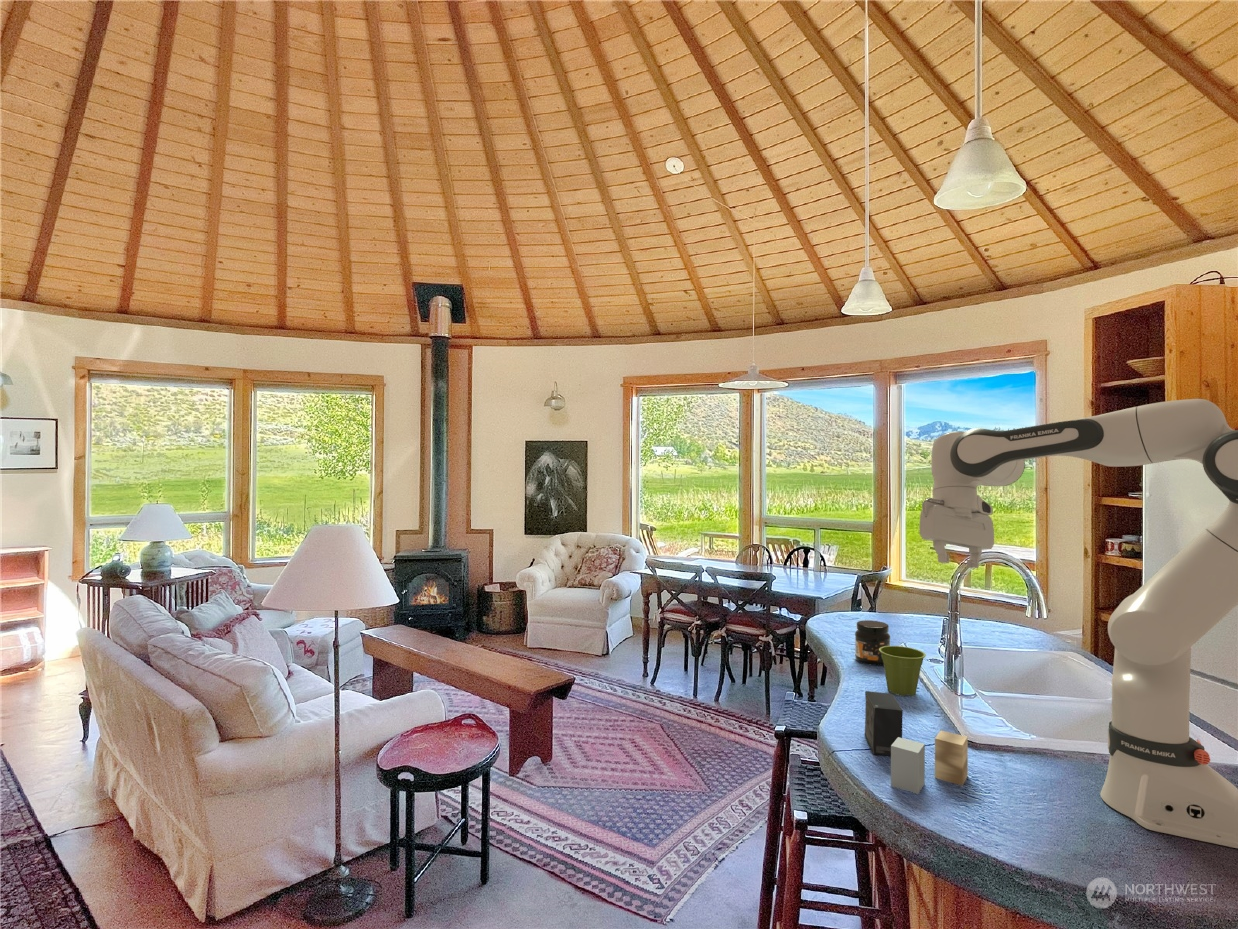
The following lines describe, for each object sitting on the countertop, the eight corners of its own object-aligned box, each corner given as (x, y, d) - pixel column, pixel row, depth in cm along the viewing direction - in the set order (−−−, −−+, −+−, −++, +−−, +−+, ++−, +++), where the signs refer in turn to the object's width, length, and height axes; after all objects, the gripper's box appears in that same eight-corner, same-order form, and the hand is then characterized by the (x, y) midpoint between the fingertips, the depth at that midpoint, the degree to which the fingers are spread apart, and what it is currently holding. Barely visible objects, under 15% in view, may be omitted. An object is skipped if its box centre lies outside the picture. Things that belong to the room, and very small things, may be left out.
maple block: (967, 776, 129) (967, 736, 129) (962, 785, 125) (962, 745, 125) (940, 768, 132) (940, 730, 132) (934, 778, 128) (934, 738, 128)
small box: (904, 758, 137) (904, 709, 137) (872, 755, 138) (872, 707, 138) (893, 737, 147) (893, 692, 147) (863, 735, 149) (863, 690, 149)
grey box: (924, 784, 126) (924, 744, 126) (918, 794, 122) (918, 753, 122) (898, 776, 129) (898, 737, 129) (890, 786, 125) (890, 745, 125)
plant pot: (928, 702, 169) (928, 660, 169) (880, 697, 173) (880, 655, 173) (922, 687, 180) (922, 647, 180) (877, 682, 184) (877, 643, 184)
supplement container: (848, 660, 204) (848, 623, 204) (864, 654, 211) (864, 618, 211) (880, 668, 196) (881, 630, 196) (896, 661, 203) (896, 624, 203)
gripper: (935, 493, 136) (938, 558, 132) (997, 508, 144) (1002, 569, 140) (910, 498, 141) (913, 560, 137) (971, 512, 149) (975, 571, 146)
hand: (958, 565), depth 139 cm, fingers open, 8 cm apart
